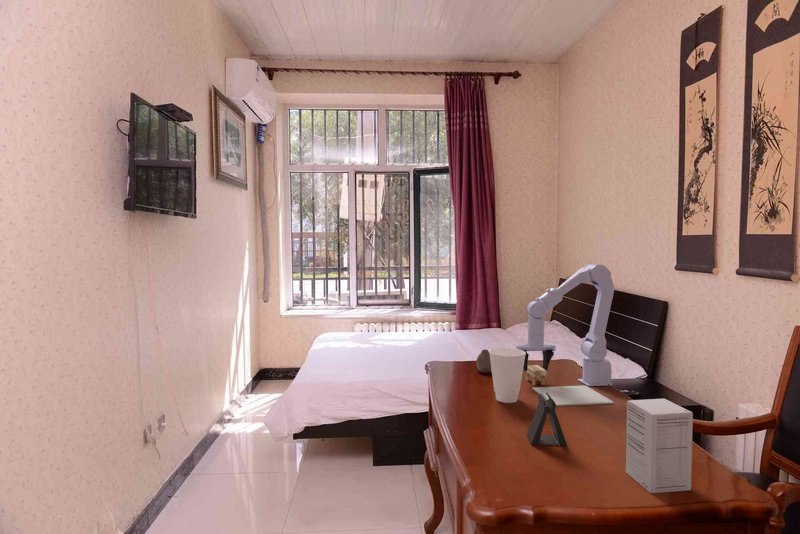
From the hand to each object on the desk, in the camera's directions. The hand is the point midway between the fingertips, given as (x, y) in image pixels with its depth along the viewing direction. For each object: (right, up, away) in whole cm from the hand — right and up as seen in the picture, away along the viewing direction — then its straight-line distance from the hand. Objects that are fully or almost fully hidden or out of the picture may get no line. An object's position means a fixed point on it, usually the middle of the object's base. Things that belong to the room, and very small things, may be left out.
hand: (535, 370), depth 176 cm
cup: (-15, -6, -19) cm, 24 cm away
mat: (+8, -5, -15) cm, 18 cm away
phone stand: (-12, -8, -51) cm, 53 cm away
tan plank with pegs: (0, -5, 0) cm, 5 cm away
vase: (-16, -4, +15) cm, 23 cm away
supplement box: (+6, -9, -72) cm, 73 cm away
